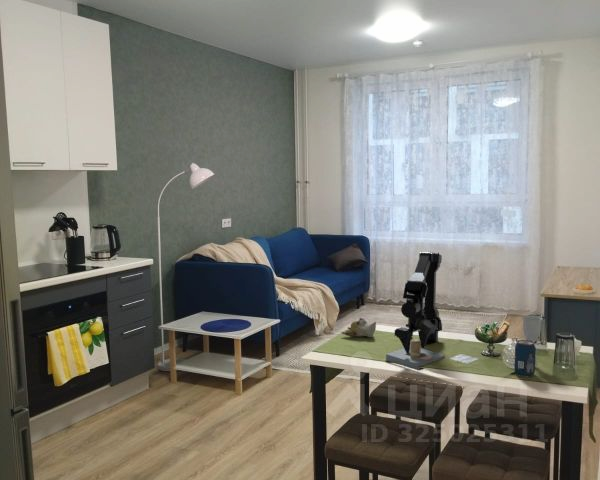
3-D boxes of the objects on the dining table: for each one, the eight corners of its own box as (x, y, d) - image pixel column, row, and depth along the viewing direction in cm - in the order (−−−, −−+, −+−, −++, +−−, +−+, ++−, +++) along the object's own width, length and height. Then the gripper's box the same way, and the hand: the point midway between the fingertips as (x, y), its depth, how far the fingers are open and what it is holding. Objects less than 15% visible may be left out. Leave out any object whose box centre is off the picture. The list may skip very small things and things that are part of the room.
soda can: (519, 369, 210) (520, 338, 209) (538, 374, 205) (539, 341, 204) (510, 374, 205) (511, 342, 204) (529, 379, 200) (530, 346, 199)
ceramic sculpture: (372, 321, 248) (340, 320, 253) (373, 340, 248) (341, 339, 254) (378, 315, 257) (347, 315, 263) (379, 334, 258) (348, 333, 264)
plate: (461, 357, 224) (461, 354, 224) (478, 362, 218) (478, 358, 218) (449, 362, 219) (449, 358, 219) (466, 367, 213) (467, 363, 213)
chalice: (541, 362, 217) (542, 316, 215) (540, 368, 211) (542, 320, 209) (520, 360, 220) (522, 314, 218) (519, 365, 214) (521, 319, 212)
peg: (414, 358, 224) (414, 338, 223) (422, 360, 221) (422, 340, 220) (408, 360, 222) (408, 340, 221) (416, 363, 219) (416, 343, 218)
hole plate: (412, 351, 233) (412, 345, 233) (444, 361, 221) (444, 354, 220) (386, 360, 223) (386, 353, 222) (418, 370, 210) (418, 363, 210)
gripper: (417, 319, 207) (416, 361, 209) (447, 311, 219) (447, 350, 221) (393, 314, 216) (393, 354, 218) (424, 306, 228) (423, 344, 230)
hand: (415, 350), depth 221 cm, fingers open, 9 cm apart
